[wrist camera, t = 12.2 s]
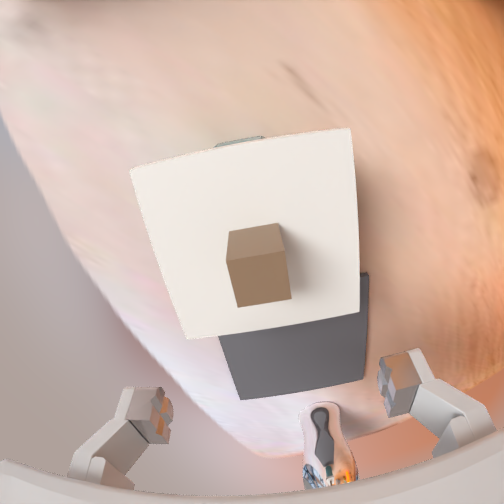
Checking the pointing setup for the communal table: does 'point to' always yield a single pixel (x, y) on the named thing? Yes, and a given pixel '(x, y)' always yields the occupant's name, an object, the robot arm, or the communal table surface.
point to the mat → (299, 354)
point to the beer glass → (325, 447)
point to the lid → (256, 231)
